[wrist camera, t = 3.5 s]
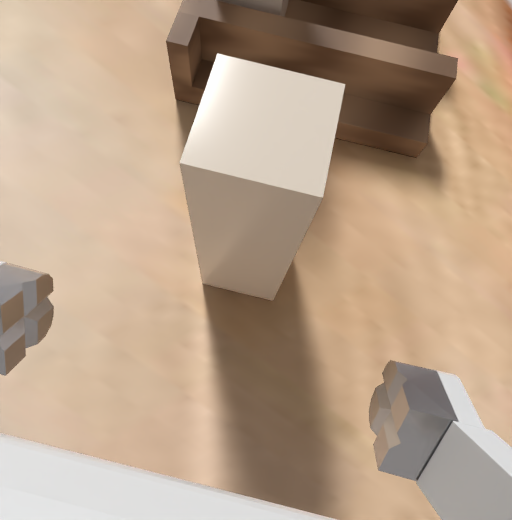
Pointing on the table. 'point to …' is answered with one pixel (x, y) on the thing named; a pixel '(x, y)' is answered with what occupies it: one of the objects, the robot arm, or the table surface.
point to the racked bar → (262, 5)
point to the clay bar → (257, 170)
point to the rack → (330, 58)
